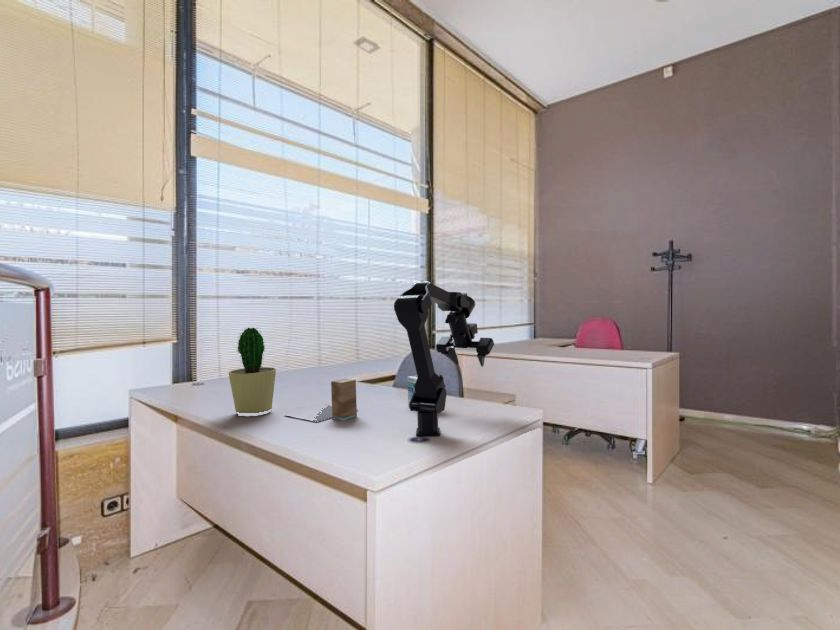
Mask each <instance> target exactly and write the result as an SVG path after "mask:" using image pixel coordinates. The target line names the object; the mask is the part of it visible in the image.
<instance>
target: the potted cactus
mask: <svg viewBox="0 0 840 630" xmlns="http://www.w3.org/2000/svg"><path fill="white" fill-rule="evenodd" d="M237 341H238V342H237V346H236V347H237V348H236V352H237V353H238V354H240V356H239V358H240V360H239V361H240V362H239V363H241V364H242V366H243V368H238V369H233V370H230V371H228V372H227V373H228V378H229V383H230V388H231V393H232V399H233V404H234V410H235V413H236V412H239V413H259V412H264V411H268V410H270V409H273V399H274V392H275V382H276V374H277V373H276V372H277V368H276V367H269V366H268V367H267V366H264V367H263V366H262V364H264V362H263V361H264V358H263V356H264V353H266V349H267V348H265V347H266V345H265V341H264V336H263V335H262V333H261V331H259V330H258V329H257V328H255V327H253V326H252V327H248V328H247V327H245V328H243V330H241V334H240V335H238V339H237Z"/></svg>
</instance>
